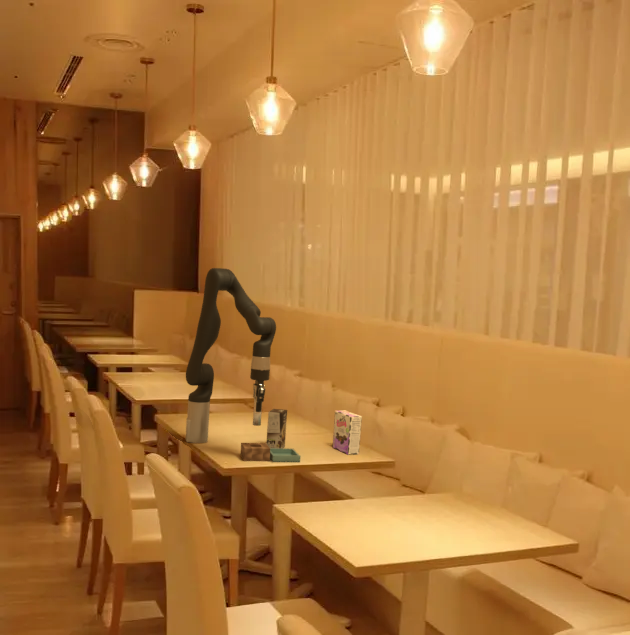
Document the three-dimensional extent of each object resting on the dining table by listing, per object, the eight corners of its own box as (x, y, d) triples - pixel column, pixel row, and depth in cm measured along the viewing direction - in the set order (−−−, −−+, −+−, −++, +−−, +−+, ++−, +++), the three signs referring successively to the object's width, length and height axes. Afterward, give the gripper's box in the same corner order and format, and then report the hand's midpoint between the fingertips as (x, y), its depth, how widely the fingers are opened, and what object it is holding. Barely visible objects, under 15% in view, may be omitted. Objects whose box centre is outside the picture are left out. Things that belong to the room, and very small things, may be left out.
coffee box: (280, 451, 327) (282, 412, 326) (265, 449, 328) (267, 411, 327) (285, 446, 336) (287, 409, 335) (270, 445, 337) (273, 408, 336)
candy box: (331, 447, 340) (334, 410, 339) (343, 447, 343) (346, 409, 342) (347, 455, 328) (350, 416, 327) (359, 454, 331) (362, 415, 330)
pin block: (244, 461, 305) (245, 448, 305) (240, 455, 315) (241, 442, 315) (269, 461, 308) (270, 448, 308) (264, 455, 318) (265, 443, 317)
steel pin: (253, 425, 309) (255, 400, 308) (252, 424, 312) (253, 399, 311) (261, 425, 310) (263, 400, 309) (260, 424, 313) (261, 399, 312)
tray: (272, 462, 307) (273, 455, 306) (266, 454, 319) (267, 448, 319) (300, 462, 309) (300, 456, 309) (292, 454, 322) (293, 448, 322)
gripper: (248, 365, 316) (245, 407, 316) (254, 369, 302) (251, 414, 303) (266, 365, 317) (263, 408, 318) (273, 370, 304) (270, 414, 305)
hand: (257, 410), depth 311 cm, fingers closed on steel pin, 3 cm apart
